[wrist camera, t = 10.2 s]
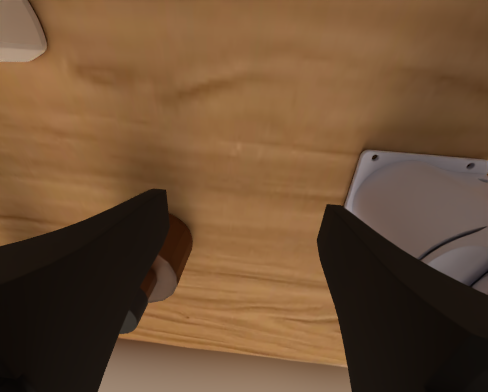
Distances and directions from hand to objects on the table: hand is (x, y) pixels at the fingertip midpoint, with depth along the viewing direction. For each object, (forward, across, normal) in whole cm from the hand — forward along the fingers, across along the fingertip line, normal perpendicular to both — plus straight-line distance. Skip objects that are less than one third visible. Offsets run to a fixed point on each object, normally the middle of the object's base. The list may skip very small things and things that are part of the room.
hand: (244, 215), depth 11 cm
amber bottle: (+10, +9, +10) cm, 16 cm away
